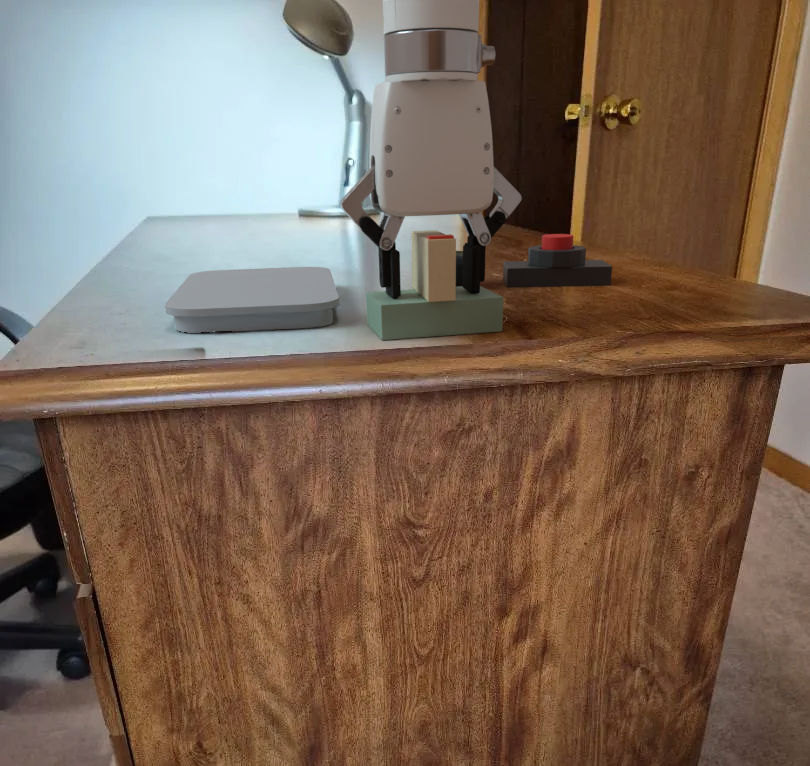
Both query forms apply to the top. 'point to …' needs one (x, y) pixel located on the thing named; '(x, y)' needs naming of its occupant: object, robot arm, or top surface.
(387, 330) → the green rectangular block
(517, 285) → the dark grey button housing
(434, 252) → the cream red-tipped block
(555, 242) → the bell button
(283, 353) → the top surface
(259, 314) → the grey flat slab
